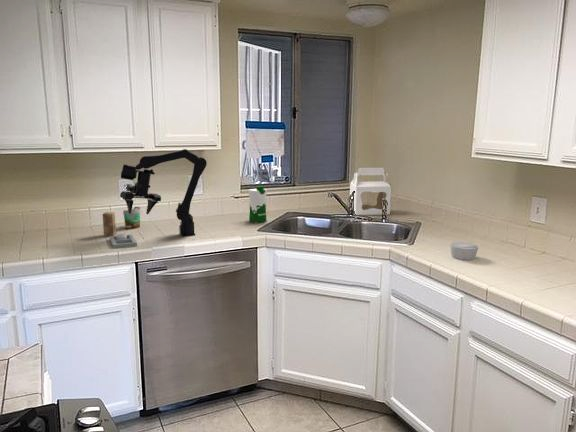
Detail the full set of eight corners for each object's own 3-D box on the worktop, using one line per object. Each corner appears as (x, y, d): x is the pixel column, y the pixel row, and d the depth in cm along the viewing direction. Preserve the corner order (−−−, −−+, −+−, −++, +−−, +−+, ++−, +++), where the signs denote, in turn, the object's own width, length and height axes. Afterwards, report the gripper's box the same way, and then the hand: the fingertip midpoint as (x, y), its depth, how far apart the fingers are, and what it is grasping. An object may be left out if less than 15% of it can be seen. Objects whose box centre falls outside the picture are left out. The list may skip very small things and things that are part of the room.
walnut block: (115, 234, 241) (114, 212, 239) (113, 236, 237) (112, 214, 234) (106, 234, 241) (105, 212, 238) (104, 236, 236) (102, 214, 234)
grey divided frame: (131, 237, 234) (131, 231, 234) (137, 246, 219) (136, 239, 218) (109, 239, 230) (109, 233, 230) (113, 248, 215) (113, 241, 214)
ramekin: (471, 262, 197) (472, 250, 196) (444, 257, 205) (445, 245, 204) (481, 257, 206) (482, 245, 205) (455, 252, 213) (456, 240, 212)
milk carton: (256, 223, 269) (256, 187, 265) (246, 220, 275) (246, 185, 272) (268, 221, 275) (268, 186, 271) (258, 218, 281) (258, 184, 277)
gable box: (382, 210, 311) (384, 166, 306) (390, 214, 298) (392, 168, 293) (348, 211, 307) (350, 166, 302) (355, 215, 295) (356, 168, 289)
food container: (135, 230, 250) (134, 210, 248) (124, 229, 251) (122, 210, 250) (146, 225, 262) (145, 206, 260) (136, 224, 263) (135, 206, 261)
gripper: (152, 180, 245) (148, 210, 247) (117, 177, 232) (112, 209, 234) (163, 184, 237) (159, 216, 239) (127, 181, 224) (123, 214, 226)
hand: (138, 213), depth 235 cm, fingers open, 9 cm apart
